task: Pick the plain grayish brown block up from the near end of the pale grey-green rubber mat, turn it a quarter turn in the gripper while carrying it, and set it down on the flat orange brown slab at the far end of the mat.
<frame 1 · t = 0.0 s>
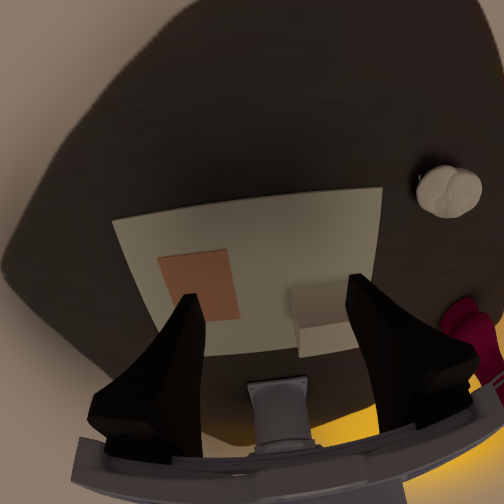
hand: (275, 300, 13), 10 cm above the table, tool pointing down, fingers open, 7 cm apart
pepper mill: (456, 312, 31), on the table
plain grayish brown block: (321, 299, 27), resting on mat
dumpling: (434, 182, 21), on the table
flat orange brown slab: (201, 289, 25), resting on mat
mat: (257, 290, 26), on the table
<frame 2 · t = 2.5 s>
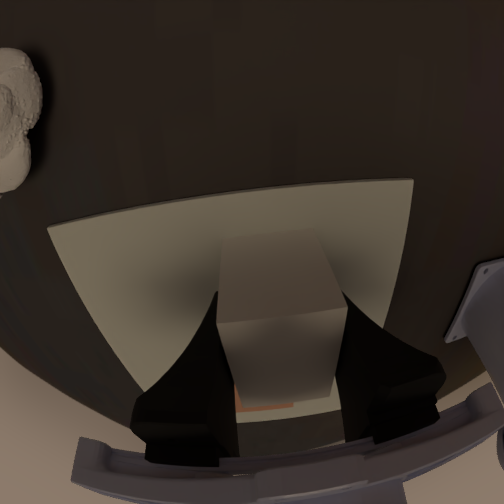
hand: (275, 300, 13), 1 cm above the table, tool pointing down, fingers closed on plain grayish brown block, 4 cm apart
plain grayish brown block: (272, 285, 14), resting on mat, touching gripper
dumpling: (21, 116, 9), on the table
flat orange brown slab: (242, 395, 20), resting on mat
mat: (246, 355, 18), on the table
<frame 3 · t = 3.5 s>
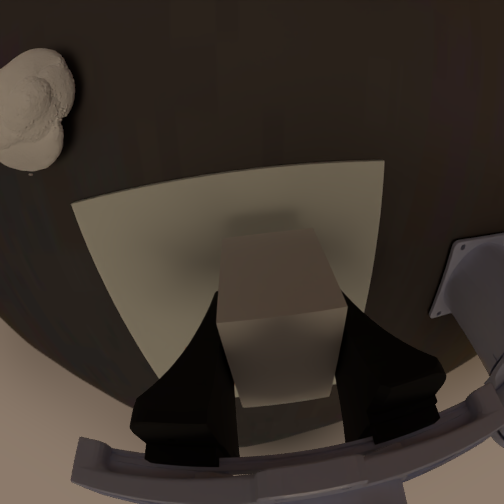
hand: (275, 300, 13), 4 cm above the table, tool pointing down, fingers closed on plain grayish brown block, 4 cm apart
plain grayish brown block: (272, 285, 14), point 3 cm above the table, touching gripper
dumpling: (51, 107, 11), on the table
mat: (244, 322, 20), on the table
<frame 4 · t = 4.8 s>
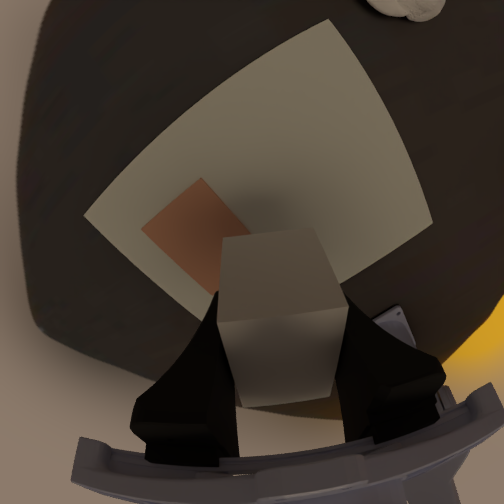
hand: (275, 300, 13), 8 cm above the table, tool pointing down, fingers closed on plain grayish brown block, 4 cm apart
plain grayish brown block: (272, 285, 14), point 7 cm above the table, touching gripper
flat orange brown slab: (206, 242, 21), resting on mat
mat: (270, 212, 20), on the table
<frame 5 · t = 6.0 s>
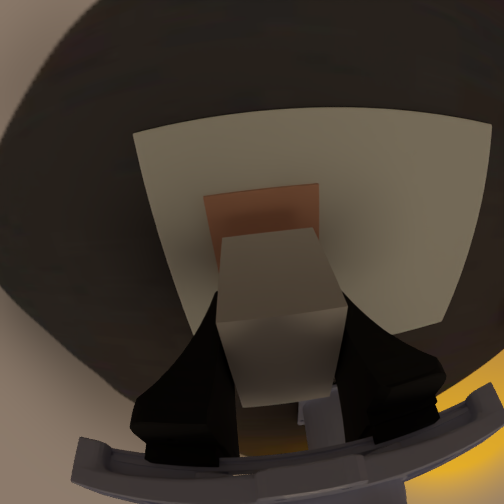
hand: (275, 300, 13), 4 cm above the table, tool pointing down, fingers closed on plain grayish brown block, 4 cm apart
plain grayish brown block: (272, 285, 14), point 3 cm above the table, touching gripper
flat orange brown slab: (267, 253, 17), resting on mat
mat: (346, 254, 17), on the table
when the fingers open (3 cm above the table, at t = 7.1 s): plain grayish brown block drops 1 cm, resting on flat orange brown slab.
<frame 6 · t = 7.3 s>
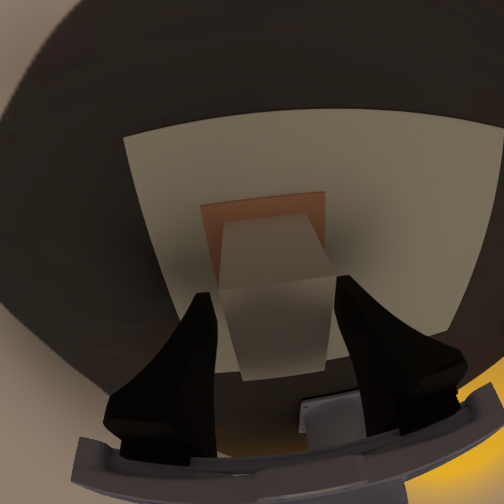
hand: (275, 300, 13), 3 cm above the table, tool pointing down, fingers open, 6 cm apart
plain grayish brown block: (270, 266, 15), resting on flat orange brown slab
flat orange brown slab: (269, 265, 15), resting on mat
mat: (353, 265, 16), on the table
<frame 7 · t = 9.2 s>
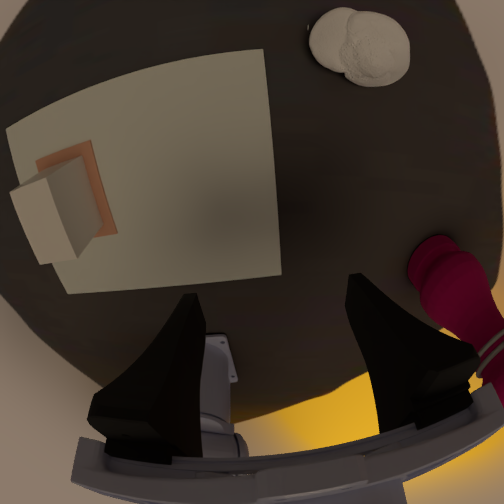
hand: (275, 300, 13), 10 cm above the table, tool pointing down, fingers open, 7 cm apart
pepper mill: (430, 259, 25), on the table
plain grayish brown block: (73, 195, 19), resting on flat orange brown slab
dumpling: (347, 50, 15), on the table
flat orange brown slab: (74, 195, 19), resting on mat
mat: (130, 193, 20), on the table
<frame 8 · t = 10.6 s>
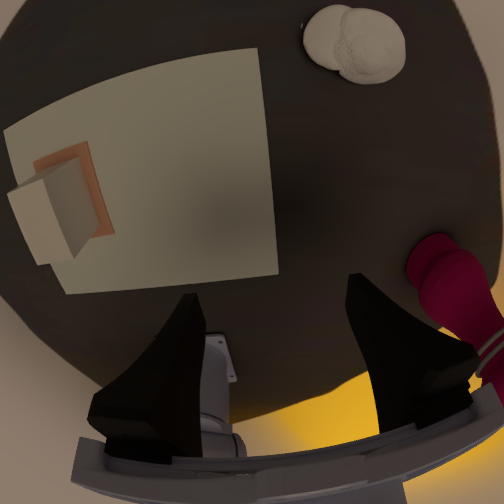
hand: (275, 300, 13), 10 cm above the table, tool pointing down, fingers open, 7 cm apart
pepper mill: (429, 257, 25), on the table
plain grayish brown block: (70, 196, 19), resting on flat orange brown slab
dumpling: (343, 48, 15), on the table
flat orange brown slab: (71, 196, 19), resting on mat
mat: (126, 193, 20), on the table
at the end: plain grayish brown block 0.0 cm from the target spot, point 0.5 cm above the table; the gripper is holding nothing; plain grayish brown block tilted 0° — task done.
